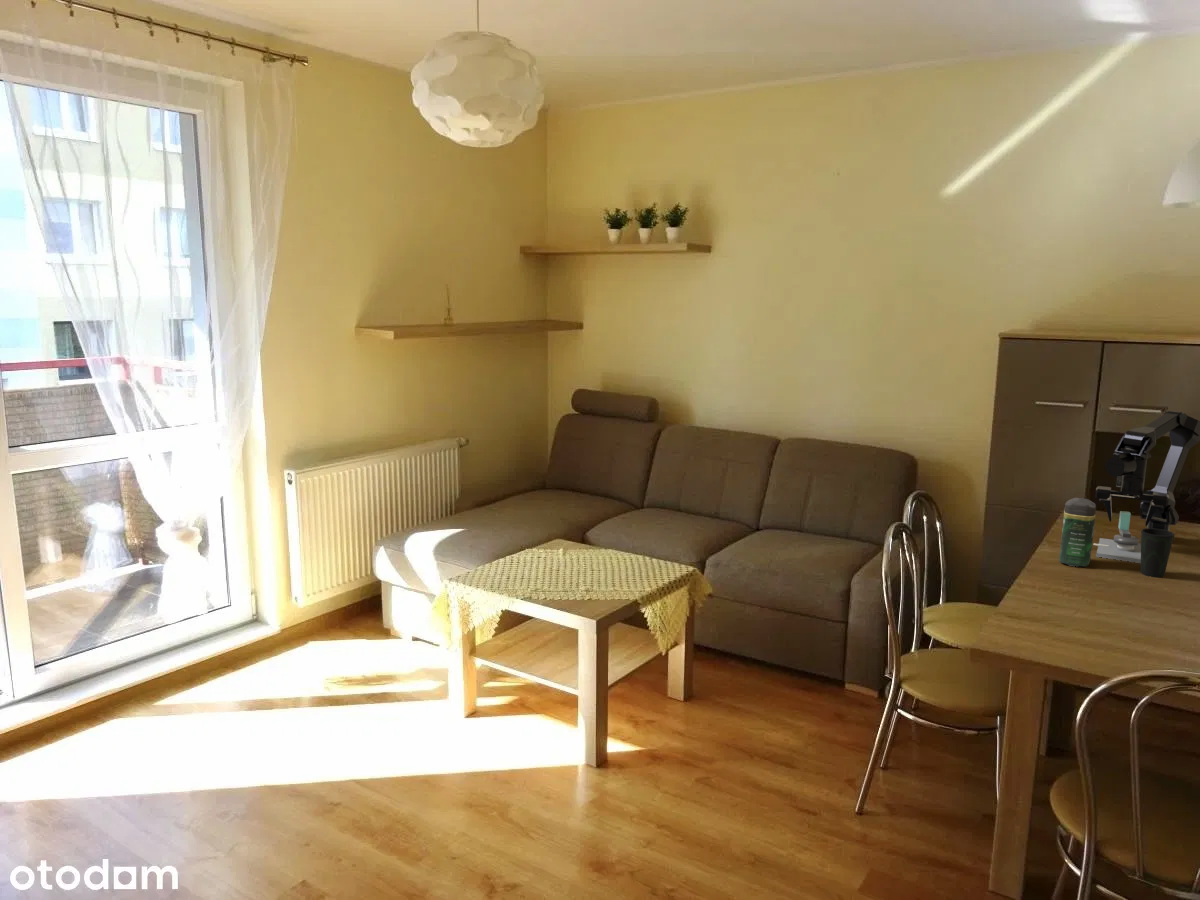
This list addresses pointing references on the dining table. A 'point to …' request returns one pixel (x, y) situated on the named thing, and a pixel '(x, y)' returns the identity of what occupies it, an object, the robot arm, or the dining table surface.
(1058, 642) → the dining table surface
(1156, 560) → the cup
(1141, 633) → the dining table surface
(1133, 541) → the handle
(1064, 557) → the coffee jar
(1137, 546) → the base
